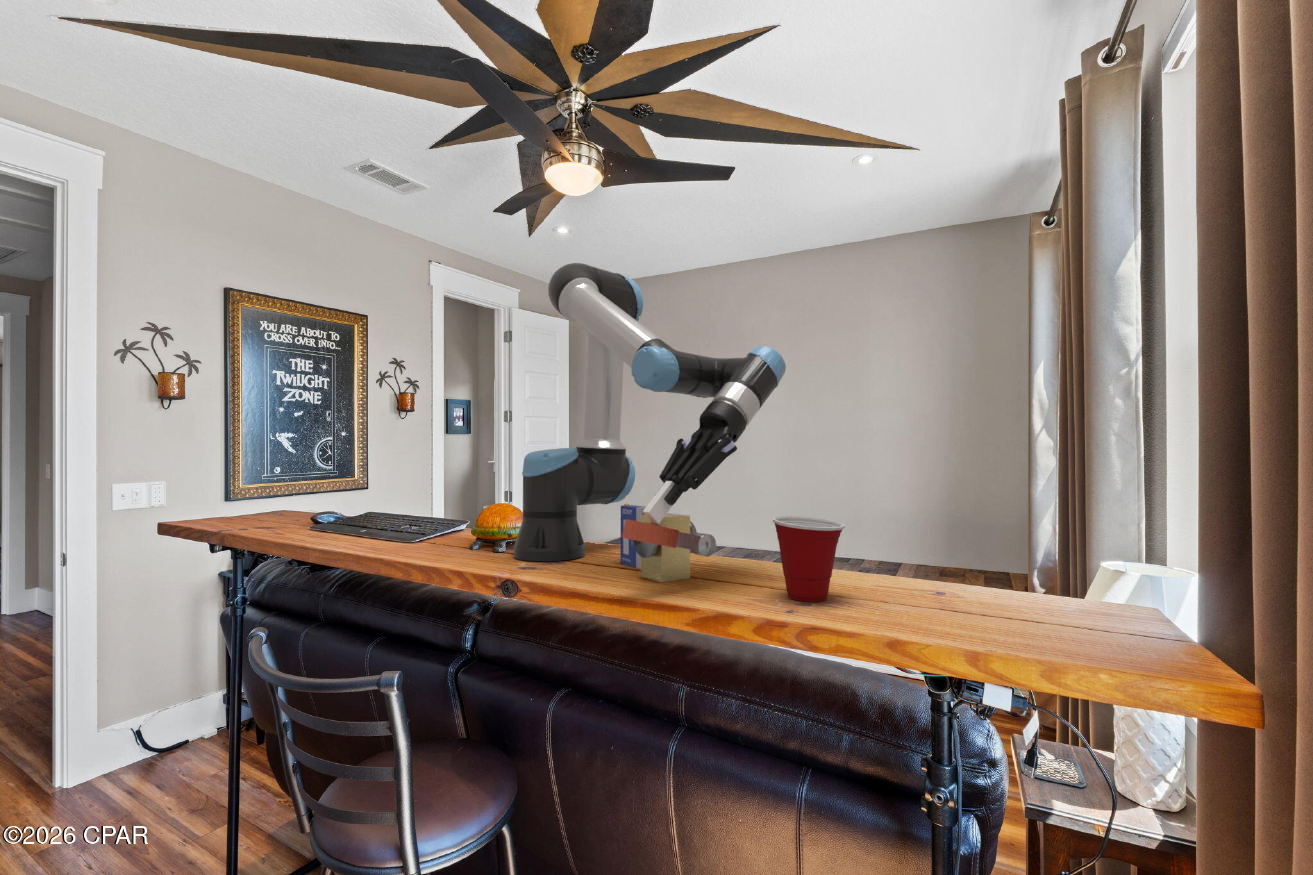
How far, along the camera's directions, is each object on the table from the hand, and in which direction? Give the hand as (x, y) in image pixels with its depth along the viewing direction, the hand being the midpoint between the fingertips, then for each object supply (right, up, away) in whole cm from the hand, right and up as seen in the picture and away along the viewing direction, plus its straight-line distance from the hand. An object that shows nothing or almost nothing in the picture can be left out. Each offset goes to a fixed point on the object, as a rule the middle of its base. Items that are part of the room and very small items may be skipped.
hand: (650, 517), depth 89 cm
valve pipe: (+4, -13, +12) cm, 18 cm away
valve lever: (+10, -6, +8) cm, 14 cm away
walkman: (-3, -13, +26) cm, 29 cm away
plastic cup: (+24, -12, -1) cm, 27 cm away
